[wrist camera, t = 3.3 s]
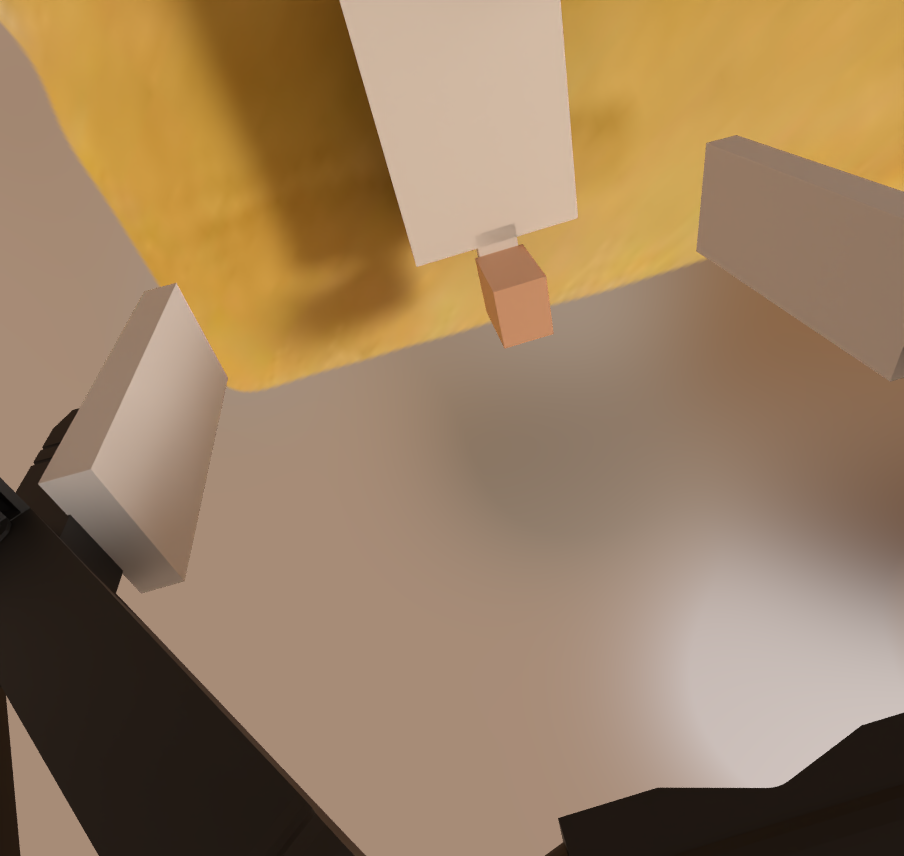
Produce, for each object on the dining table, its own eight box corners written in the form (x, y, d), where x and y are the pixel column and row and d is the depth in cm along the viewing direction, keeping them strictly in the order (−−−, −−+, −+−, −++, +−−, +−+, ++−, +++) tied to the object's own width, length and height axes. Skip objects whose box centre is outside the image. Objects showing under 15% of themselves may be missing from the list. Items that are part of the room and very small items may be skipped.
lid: (317, -73, 27) (317, -83, 21) (535, -140, 27) (589, -166, 21) (429, 313, 41) (446, 365, 35) (573, 270, 41) (611, 316, 35)
